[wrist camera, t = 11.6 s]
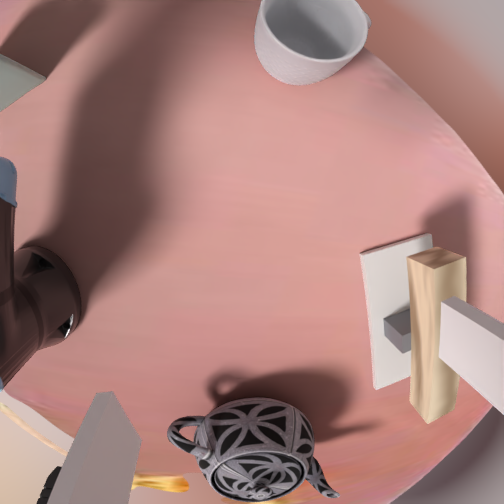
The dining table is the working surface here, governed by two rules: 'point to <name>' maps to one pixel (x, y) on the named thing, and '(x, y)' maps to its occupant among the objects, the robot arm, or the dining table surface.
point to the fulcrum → (390, 307)
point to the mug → (308, 37)
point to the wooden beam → (432, 328)
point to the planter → (15, 81)
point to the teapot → (253, 449)
